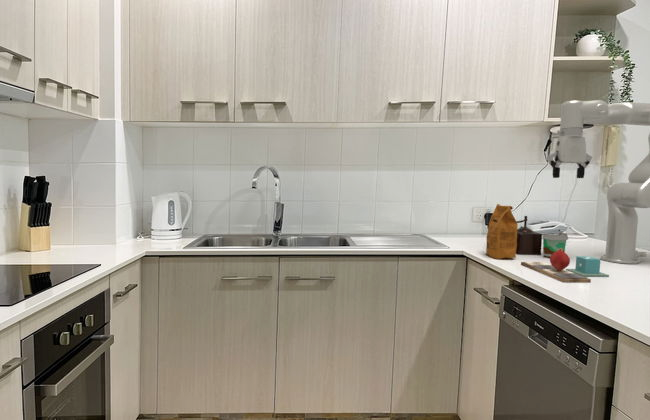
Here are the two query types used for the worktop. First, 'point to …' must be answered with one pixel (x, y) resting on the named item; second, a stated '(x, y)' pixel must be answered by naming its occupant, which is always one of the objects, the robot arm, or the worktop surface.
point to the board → (555, 272)
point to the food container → (553, 243)
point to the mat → (588, 274)
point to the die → (587, 265)
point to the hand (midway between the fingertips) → (568, 177)
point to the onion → (559, 260)
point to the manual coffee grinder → (528, 240)
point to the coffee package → (502, 233)
